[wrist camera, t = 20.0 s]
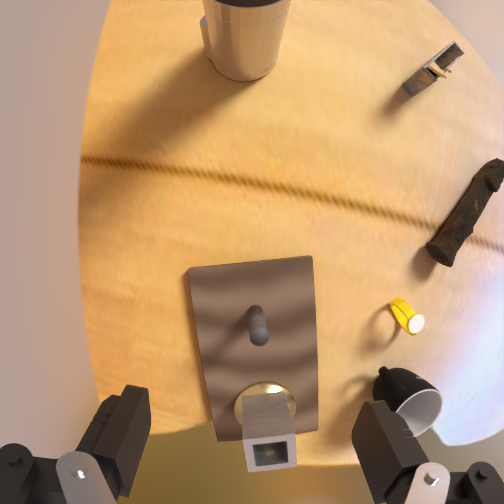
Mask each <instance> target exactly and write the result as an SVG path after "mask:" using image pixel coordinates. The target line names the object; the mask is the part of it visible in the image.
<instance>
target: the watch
mask: <svg viewBox="0 0 504 504" xmlns="http://www.w3.org/2000/svg"><path fill="white" fill-rule="evenodd" d="M390 308H391V310H392V312H393V314H394V315H395V317H396V319H397V321H398V323H399V324H400V325H401V326H402V328H403V329H404V330H405V331H406V332H407V333H409V334H410V335H416V334H417V333H418V332H419V331H420V330H421V329H422V328H423V326H424V321H425V320H424V317H423V316H422V315H421V314H419V313H415V312H414V310H413V309H412V308H411V307H410V306H409V305H408V303H407V302H405V301H404V300H403V299H401V298H396V299H395V300H393V301H392V302H391V303H390Z"/></svg>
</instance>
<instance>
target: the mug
mask: <svg viewBox="0 0 504 504" xmlns="http://www.w3.org/2000/svg"><path fill="white" fill-rule="evenodd" d="M378 372H379V374H380V376H379V378H378V379H377V380H376V382H375V384H374V387H373V398H374V401H380V400H384V401H385V402H386V403H387V405H388V407H389V408H390V410H391V412H394V411H395V412H396V413H398V414H399V415H400V416H401V417H403V418H404V419H405V421H406V423H407V424H408V426H409V429H410V430H411V431H412V433H413V434H414V437H416V436H418V435H420V434H422V433H423V432H424V431H426V430H427V429H428V428H429V427H430V426H431V425H432V424H433V423H434V422H435V421H436V419H437V418H438V416H439V414H440V412H441V409H442V405H443V398H442V395H441V394H440V392H439V391H438V390H437V389H436V388H435V387H433V386H432V385H431V384H430V383H428V382H427V381H426V380H424V379H423V378H421V377H420V376H418V375H416V374H414V373H413V372H411V371H409V370H406V369H403V368H392V369H389V370H388V369H387V368H386V367H385V366H383V367H381V368H380V369H379V371H378Z"/></svg>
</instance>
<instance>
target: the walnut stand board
mask: <svg viewBox="0 0 504 504" xmlns="http://www.w3.org/2000/svg"><path fill="white" fill-rule="evenodd" d="M188 275H189V282H190V290H191V297H192V304H193V311H194V317H195V324H196V330H197V336H198V342H199V348H200V354H201V360H202V366H203V371H204V377H205V382H206V387H207V392H208V398H209V403H210V408H211V412H212V417H213V422H214V426H215V431H216V436H217V440H218V441H236V440H242V425H241V424H240V423H239V422H238V421H237V419H236V417H235V414H234V403H235V400H236V397H237V396H238V394H239V393H240V392H241V391H242V390H243V389H244V388H246V387H247V386H249V385H251V384H254V383H257V382H264V381H270V382H276V383H279V384H282V385H283V386H285V387H287V388H288V389H289V390H290V391H291V393H292V394H293V396H294V399H295V402H296V412H295V415H294V417H293V418H292V423H293V427H294V430H295V434H299V433H305V432H311V431H317V430H318V357H317V329H316V307H315V289H314V274H313V259H312V256H310V255H309V256H300V257H290V258H281V259H271V260H262V261H252V262H242V263H232V264H223V265H213V266H203V267H193V268H189V269H188Z"/></svg>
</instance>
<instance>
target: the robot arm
mask: <svg viewBox="0 0 504 504" xmlns="http://www.w3.org/2000/svg"><path fill="white" fill-rule="evenodd" d="M290 1H291V0H203V5H204V11H205V16H204V17H203V18H202V19H201V20H200V27H201V32H202V37H203V42H204V47H205V52H206V57H207V58H208V59H210V60H212V61H213V63H214V66H215V68H216V69H217V70H218V71H219V72H220V73H221V74H222V75H223V76H225V77H227V78H229V79H232V80H236V81H252V80H257V79H259V78H261V77H263V76H265V75H266V74H268V73H269V72H270V71H271V70H272V69H273V67H274V65H275V62H276V59H277V56H278V50H279V46H280V42H281V38H282V34H283V30H284V26H285V21H286V17H287V13H288V9H289V5H290ZM150 427H151V412H150V403H149V393H148V389H147V388H144V387H138V386H133V385H126V387H125V388H124V390H123V392H122V394H121V396H117V395H111V396H110V397H108V398H107V399H106V400H104V401H103V402H102V404H101V405H100V407H99V409H98V411H97V413H96V414H95V416H94V418H93V421H91V423H90V425H89V427H88V428H87V431H86V432H85V434H84V436H83V438H82V439H81V441H80V443H79V445H78V447H77V448H76V450H75V451H72V452H68V453H65V454H64V455H62V456H61V457H60V458H59V459H49V458H41V457H33V456H32V454H31V452H30V451H29V450H28V449H27V448H26V447H25V446H23V445H20V444H14V443H12V444H7V445H5V446H3V447H2V448H1V449H0V504H117V499H118V496H119V495H120V496H124V497H129V494H130V491H131V488H132V484H133V481H134V478H135V475H136V472H137V468H138V465H139V462H140V459H141V456H142V453H143V450H144V447H145V444H146V441H147V438H148V435H149V432H150ZM352 443H353V446H354V448H355V451H356V454H357V456H358V459H359V462H360V464H361V467H362V469H363V472H364V475H365V478H366V481H367V483H368V486H369V489H370V491H371V494H372V497H373V500H374V502H375V504H380V503H385V502H386V503H387V504H504V483H503V481H502V479H501V478H500V476H499V475H498V473H497V472H496V470H495V468H494V467H493V466H491V465H490V464H488V463H486V462H476V463H474V464H472V465H471V466H470V468H469V469H468V470H467V471H466V472H448V470H447V469H446V468H445V467H444V466H442V465H440V464H437V463H432V462H429V460H428V458H427V457H426V455H425V453H424V451H423V450H422V448H421V446H420V444H419V443H418V441H417V439H416V438H415V437H414V434H413V433H412V431H411V430H410V429H409V426H408V424H407V423H406V421H405V419H404V418H403V417H401V416H400V415H399V414H398V413H396V412H395V411H394V412H391V410H390V408H389V407H388V405H387V403H386V402H385V401H384V400H380V401H367V402H364V404H363V405H362V408H361V410H360V413H359V415H358V418H357V420H356V422H355V425H354V427H353V430H352Z"/></svg>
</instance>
